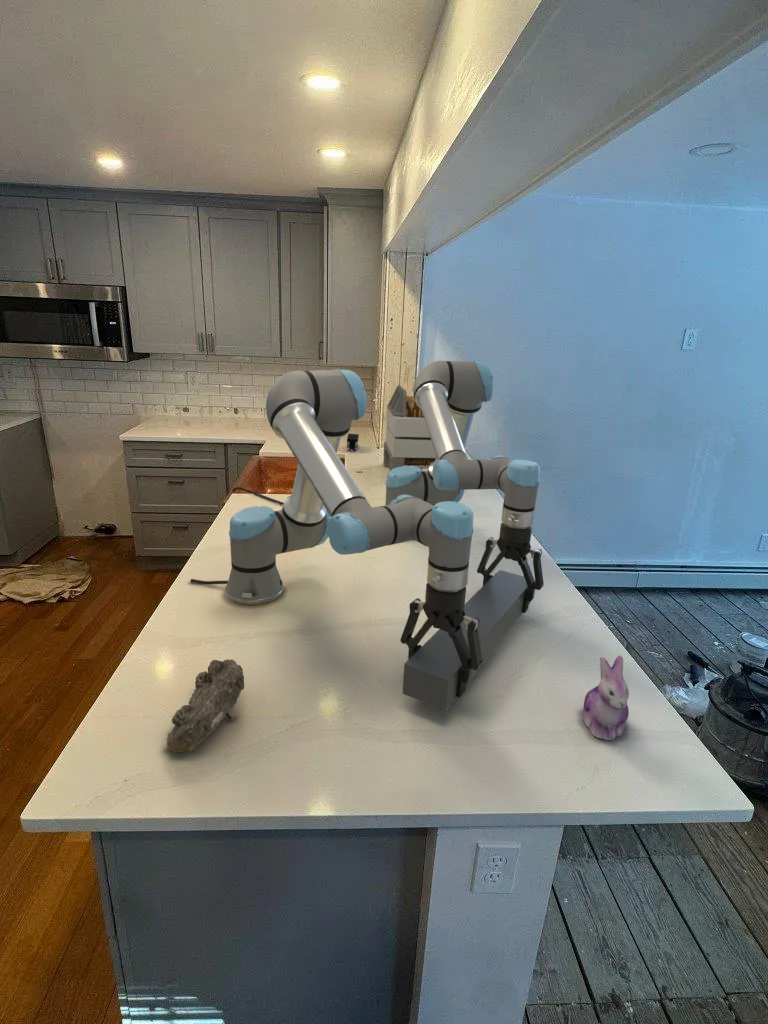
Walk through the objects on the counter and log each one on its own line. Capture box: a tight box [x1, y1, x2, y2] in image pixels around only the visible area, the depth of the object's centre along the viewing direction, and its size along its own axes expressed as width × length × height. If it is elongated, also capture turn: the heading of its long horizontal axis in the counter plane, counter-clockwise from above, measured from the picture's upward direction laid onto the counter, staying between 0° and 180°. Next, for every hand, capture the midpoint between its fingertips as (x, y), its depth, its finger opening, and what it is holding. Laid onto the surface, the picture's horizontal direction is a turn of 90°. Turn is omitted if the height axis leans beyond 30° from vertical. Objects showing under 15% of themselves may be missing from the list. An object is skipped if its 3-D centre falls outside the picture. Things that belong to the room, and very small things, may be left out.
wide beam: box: [402, 569, 532, 712], centre depth 129 cm, size 52×9×7 cm, turn 149°
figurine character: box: [346, 433, 360, 452], centre depth 314 cm, size 7×8×15 cm
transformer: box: [383, 384, 436, 471], centre depth 268 cm, size 34×33×41 cm
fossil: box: [166, 658, 245, 754], centre depth 106 cm, size 22×10×15 cm
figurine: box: [581, 654, 630, 741], centre depth 108 cm, size 9×10×15 cm
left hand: (437, 684), depth 114 cm, fingers closed on wide beam, 9 cm apart
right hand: (505, 604), depth 146 cm, fingers closed on wide beam, 9 cm apart
